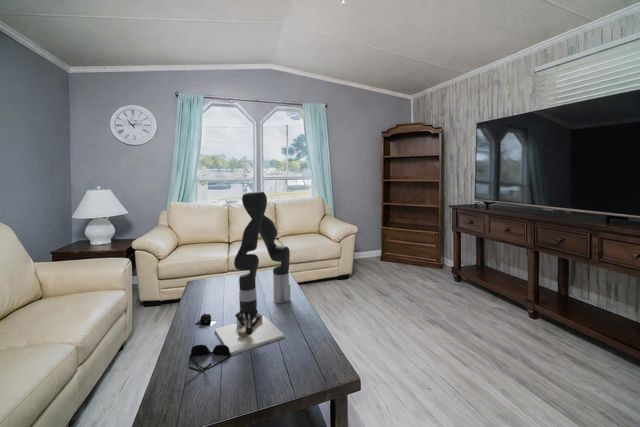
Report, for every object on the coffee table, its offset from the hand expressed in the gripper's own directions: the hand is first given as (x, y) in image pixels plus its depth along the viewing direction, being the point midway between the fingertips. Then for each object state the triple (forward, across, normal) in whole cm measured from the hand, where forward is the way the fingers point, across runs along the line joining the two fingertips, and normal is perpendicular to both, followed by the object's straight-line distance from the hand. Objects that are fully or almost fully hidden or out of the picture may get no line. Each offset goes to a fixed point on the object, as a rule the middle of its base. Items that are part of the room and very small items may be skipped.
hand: (249, 334), depth 136 cm
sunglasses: (+3, +7, +22) cm, 23 cm away
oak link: (0, +3, -7) cm, 8 cm away
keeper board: (+2, +2, -4) cm, 5 cm away
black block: (+3, +29, -8) cm, 30 cm away
